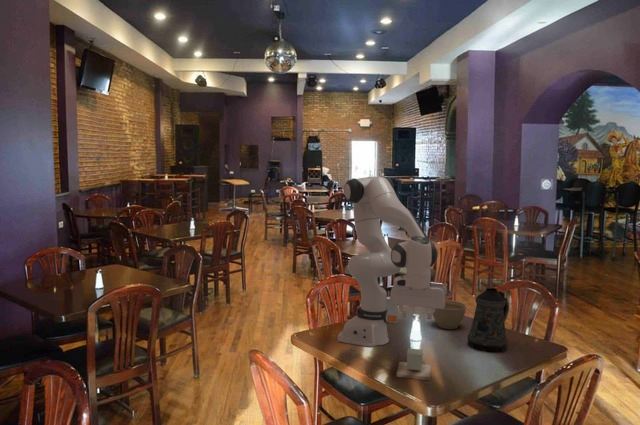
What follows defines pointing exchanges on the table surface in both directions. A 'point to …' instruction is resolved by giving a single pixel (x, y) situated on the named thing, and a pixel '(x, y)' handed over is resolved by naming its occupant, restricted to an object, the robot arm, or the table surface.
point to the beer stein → (489, 322)
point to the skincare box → (391, 311)
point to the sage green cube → (414, 359)
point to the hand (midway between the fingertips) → (416, 317)
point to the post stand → (414, 372)
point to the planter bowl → (450, 314)
